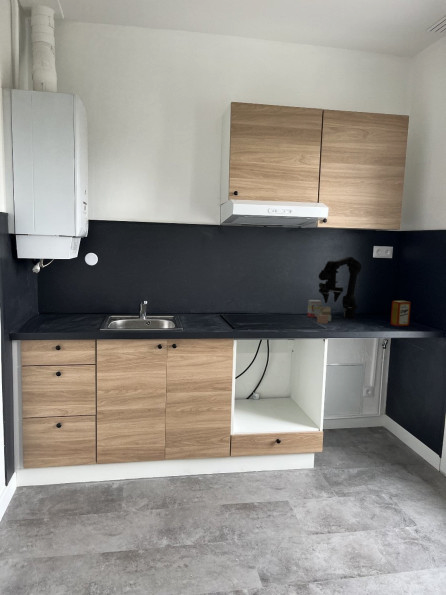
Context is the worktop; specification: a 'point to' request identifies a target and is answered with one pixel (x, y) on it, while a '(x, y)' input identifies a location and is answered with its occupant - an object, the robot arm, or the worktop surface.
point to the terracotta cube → (322, 318)
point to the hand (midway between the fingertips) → (330, 302)
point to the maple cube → (325, 310)
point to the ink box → (314, 308)
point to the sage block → (328, 317)
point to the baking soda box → (400, 313)
